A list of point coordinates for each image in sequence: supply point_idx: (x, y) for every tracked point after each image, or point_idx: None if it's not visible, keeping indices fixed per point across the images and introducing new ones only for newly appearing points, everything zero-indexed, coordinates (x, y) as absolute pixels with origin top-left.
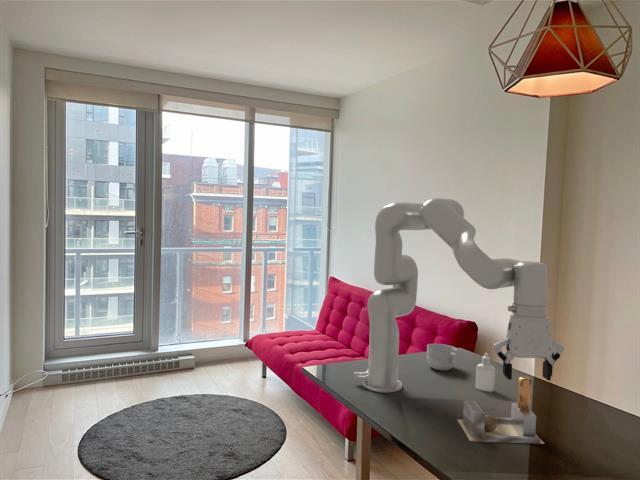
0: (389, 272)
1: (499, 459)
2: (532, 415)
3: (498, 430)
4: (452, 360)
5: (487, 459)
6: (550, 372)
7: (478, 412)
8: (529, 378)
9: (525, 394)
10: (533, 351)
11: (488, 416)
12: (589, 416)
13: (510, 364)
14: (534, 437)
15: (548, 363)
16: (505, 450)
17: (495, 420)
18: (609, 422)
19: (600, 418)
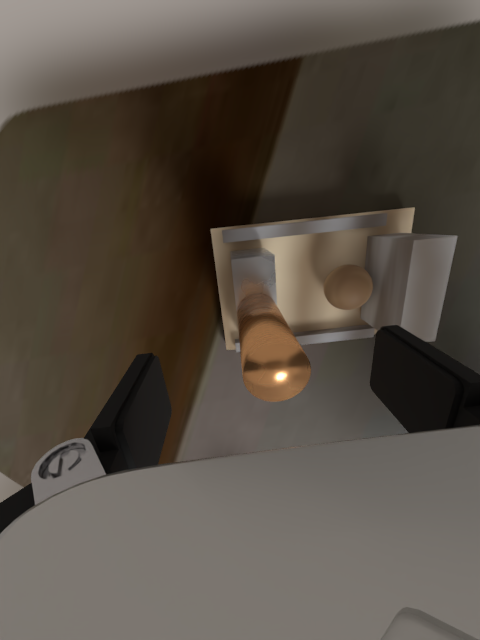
0: None
1: (351, 144)
2: (243, 261)
3: (311, 287)
4: None
5: (384, 137)
6: (122, 383)
7: (432, 247)
8: (253, 374)
9: (269, 313)
10: (370, 563)
11: (363, 286)
12: (58, 425)
13: (476, 380)
14: (236, 237)
15: (110, 455)
16: (315, 204)
17: (340, 279)
18: (17, 405)
19: (35, 421)
